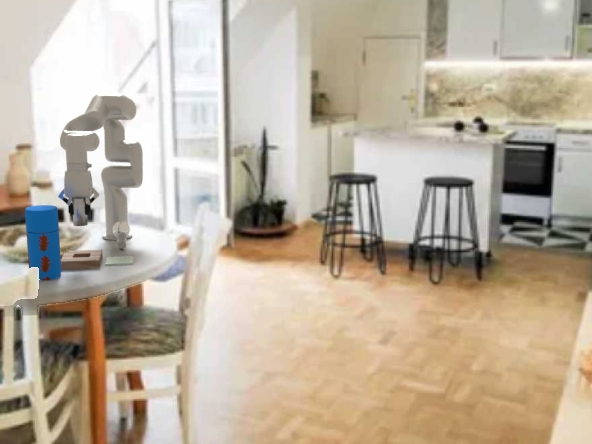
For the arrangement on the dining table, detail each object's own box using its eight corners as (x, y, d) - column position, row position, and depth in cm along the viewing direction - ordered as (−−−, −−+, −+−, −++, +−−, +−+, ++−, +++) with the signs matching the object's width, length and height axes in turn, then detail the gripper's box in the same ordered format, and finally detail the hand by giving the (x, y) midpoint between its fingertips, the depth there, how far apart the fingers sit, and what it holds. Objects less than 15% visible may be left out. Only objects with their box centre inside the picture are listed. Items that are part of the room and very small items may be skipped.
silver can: (74, 223, 278) (72, 195, 276) (88, 223, 279) (86, 194, 277) (72, 226, 273) (70, 197, 271) (87, 226, 274) (85, 197, 272)
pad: (107, 258, 286) (107, 257, 285) (133, 257, 287) (133, 256, 287) (105, 265, 276) (105, 263, 276) (132, 264, 278) (132, 262, 278)
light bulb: (126, 252, 296) (125, 223, 293) (110, 251, 297) (109, 222, 295) (133, 248, 303) (132, 219, 300) (117, 247, 304) (116, 218, 301)
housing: (65, 258, 285) (65, 250, 285) (102, 257, 288) (102, 249, 287) (60, 269, 270) (60, 261, 269) (99, 267, 273) (99, 260, 272)
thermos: (30, 282, 254) (25, 211, 249) (28, 274, 263) (23, 206, 258) (63, 278, 258) (59, 209, 253) (59, 271, 268) (55, 204, 262)
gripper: (101, 165, 277) (104, 212, 281) (54, 166, 273) (57, 213, 277) (100, 168, 269) (102, 216, 273) (51, 169, 266) (55, 217, 270)
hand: (79, 214), depth 275 cm, fingers closed on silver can, 5 cm apart
